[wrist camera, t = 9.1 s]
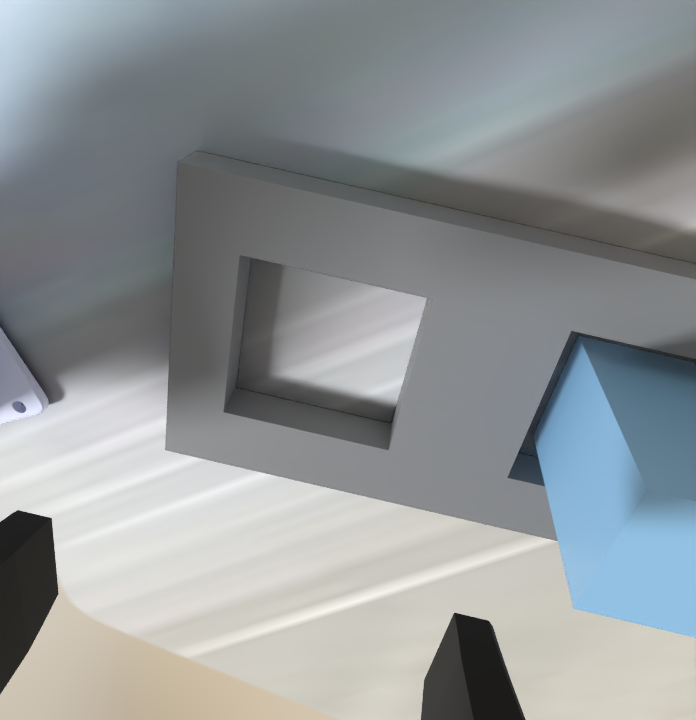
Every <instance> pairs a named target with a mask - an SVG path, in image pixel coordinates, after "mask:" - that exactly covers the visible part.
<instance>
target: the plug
mask: <svg viewBox="0 0 696 720" xmlns="http://www.w3.org/2000/svg"><path fill="white" fill-rule="evenodd" d="M533 436H534V441H535V445H536V449H537V453H538V458H539V462H540V466H541V471H542V475H543V479H544V484H545V488H546V492H547V496H548V501H549V505H550V509H551V514H552V518H553V522H554V526H555V531H556V535H557V539H558V544H559V548H560V552H561V556H562V561H563V565H564V569H565V574H566V578H567V582H568V586H569V591H570V595H571V599H572V604H573V608H574V609H578V610H582V611H586V612H590V613H594V614H599V615H603V616H607V617H611V618H615V619H620V620H624V621H628V622H632V623H636V624H641V625H645V626H649V627H653V628H657V629H661V630H666V631H670V632H674V633H678V634H682V635H687V636H691V637H695V638H696V363H693V362H689V361H684V360H680V359H676V358H672V357H667V356H663V355H659V354H655V353H650V352H646V351H642V350H638V349H633V348H629V347H625V346H621V345H616V344H612V343H608V342H604V341H599V340H595V339H591V338H587V337H583V336H578V338H577V340H576V343H575V345H574V347H573V349H572V351H571V354H570V356H569V358H568V360H567V362H566V365H565V367H564V369H563V371H562V373H561V376H560V378H559V380H558V382H557V384H556V387H555V389H554V391H553V393H552V395H551V398H550V400H549V402H548V404H547V406H546V409H545V411H544V413H543V415H542V417H541V420H540V422H539V424H538V426H537V428H536V430H535V433H534V435H533Z"/></svg>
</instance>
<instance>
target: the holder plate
mask: <svg viewBox="0 0 696 720" xmlns="http://www.w3.org/2000/svg"><path fill="white" fill-rule="evenodd" d="M251 258H255V259H259V260H264V261H268V262H272V263H277V264H281V265H286V266H290V267H294V268H299V269H303V270H307V271H312V272H316V273H321V274H325V275H329V276H334V277H338V278H342V279H347V280H351V281H356V282H360V283H364V284H369V285H373V286H378V287H382V288H386V289H391V290H395V291H399V292H404V293H408V294H413V295H417V296H421V297H426V298H427V301H426V305H425V308H424V312H423V315H422V319H421V322H420V325H419V329H418V332H417V336H416V339H415V343H414V346H413V350H412V353H411V357H410V360H409V364H408V367H407V371H406V374H405V378H404V381H403V385H402V388H401V392H400V395H399V399H398V402H397V406H396V409H395V413H394V416H393V420H392V423H391V424H390V423H386V422H382V421H377V420H373V419H369V418H364V417H360V416H356V415H351V414H347V413H343V412H338V411H334V410H330V409H325V408H321V407H317V406H312V405H308V404H304V403H299V402H295V401H291V400H286V399H282V398H278V397H273V396H269V395H265V394H260V393H256V392H252V391H247V390H243V389H239V388H236V385H237V377H238V368H239V359H240V350H241V342H242V333H243V324H244V315H245V306H246V298H247V289H248V280H249V271H250V263H251ZM571 331H575V332H579V333H583V334H588V335H592V336H596V337H601V338H605V339H610V340H614V341H618V342H623V343H627V344H631V345H636V346H640V347H645V348H649V349H653V350H658V351H662V352H666V353H671V354H675V355H680V356H684V357H688V358H693V359H696V264H694V263H690V262H685V261H681V260H676V259H672V258H668V257H663V256H659V255H654V254H650V253H645V252H641V251H637V250H632V249H628V248H623V247H619V246H615V245H610V244H606V243H601V242H597V241H593V240H588V239H584V238H579V237H575V236H571V235H566V234H562V233H557V232H553V231H549V230H544V229H540V228H535V227H531V226H526V225H522V224H518V223H513V222H509V221H504V220H500V219H496V218H491V217H487V216H482V215H478V214H474V213H469V212H465V211H460V210H456V209H452V208H447V207H443V206H438V205H434V204H430V203H425V202H421V201H416V200H412V199H407V198H403V197H399V196H394V195H390V194H385V193H381V192H377V191H372V190H368V189H363V188H359V187H355V186H350V185H346V184H341V183H337V182H333V181H328V180H324V179H319V178H315V177H310V176H306V175H302V174H297V173H293V172H288V171H284V170H280V169H275V168H271V167H266V166H262V165H258V164H253V163H249V162H244V161H240V160H236V159H231V158H227V157H222V156H218V155H214V154H209V153H205V152H200V151H196V152H194V153H192V154H191V155H189V156H187V157H185V158H184V159H182V160H180V161H179V162H178V169H177V192H176V215H175V238H174V261H173V285H172V308H171V331H170V354H169V378H168V401H167V424H166V447H165V450H167V451H172V452H176V453H180V454H185V455H189V456H193V457H197V458H202V459H206V460H210V461H215V462H219V463H223V464H228V465H232V466H236V467H241V468H245V469H249V470H254V471H258V472H262V473H266V474H271V475H275V476H279V477H284V478H288V479H292V480H297V481H301V482H305V483H310V484H314V485H318V486H323V487H327V488H331V489H335V490H340V491H344V492H348V493H353V494H357V495H361V496H366V497H370V498H374V499H379V500H383V501H387V502H392V503H396V504H400V505H404V506H409V507H413V508H417V509H422V510H426V511H430V512H435V513H439V514H443V515H448V516H452V517H456V518H461V519H465V520H469V521H473V522H478V523H482V524H486V525H491V526H495V527H499V528H504V529H508V530H512V531H517V532H521V533H525V534H530V535H534V536H538V537H542V538H547V539H551V540H555V541H558V539H557V535H556V531H555V526H554V522H553V518H552V514H551V509H550V505H549V501H548V496H547V492H546V488H545V484H544V479H543V475H542V471H541V466H540V462H539V458H538V457H534V456H529V455H525V454H521V453H518V452H519V450H520V447H521V445H522V443H523V441H524V438H525V436H526V434H527V431H528V429H529V427H530V425H531V422H532V420H533V418H534V415H535V413H536V411H537V409H538V406H539V404H540V402H541V399H542V397H543V395H544V392H545V390H546V388H547V386H548V383H549V381H550V379H551V376H552V374H553V372H554V370H555V367H556V365H557V363H558V360H559V358H560V356H561V354H562V351H563V349H564V347H565V344H566V342H567V340H568V338H569V335H570V333H571Z"/></svg>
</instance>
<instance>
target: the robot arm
mask: <svg viewBox="0 0 696 720" xmlns="http://www.w3.org/2000/svg"><path fill="white" fill-rule="evenodd" d="M20 402H22V403H23V404H24V405H25V406H23V405H22V404H21V403H20ZM47 406H48V398H47V396H46V395H45V393H44V392H43V390H42V389H41V387H40V386H39V384H38V383H37V381H36V380H35V378H34V377H33V375H32V374H31V372H30V371H29V369H28V368H27V366H26V365H25V363H24V362H23V360H22V359H21V357H20V356H19V354H18V353H17V351H16V350H15V348H14V347H13V345H12V344H11V342H10V341H9V339H8V338H7V336H6V335H5V333H4V332H3V330H2V329H1V327H0V424H2V423H6V422H10V421H14V420H18V419H22V418H26V417H30V416H34V415H38V414H40V413H42V412H43V411H44V410H45V409H46V408H47ZM57 595H58V584H57V573H56V562H55V551H54V540H53V529H52V518H48V517H44V516H40V515H36V514H31V513H27V512H23V511H19V510H18V511H16V512H14V513H12V514H11V515H9V516H8V517H7V518H5V519H4V520H2V521H1V522H0V694H1V692H2V691H3V689H4V687H5V686H6V685H7V683H8V682H9V680H10V679H11V677H12V675H13V674H14V673H15V671H16V670H17V668H18V667H19V665H20V664H21V662H22V660H23V659H24V657H25V656H26V654H27V653H28V651H29V649H30V647H31V646H32V644H33V642H34V640H35V638H36V636H37V634H38V632H39V631H40V629H41V627H42V625H43V623H44V621H45V619H46V617H47V615H48V613H49V611H50V609H51V607H52V605H53V603H54V601H55V599H56V597H57ZM421 720H525V717H524V715H523V712H522V709H521V707H520V704H519V701H518V699H517V696H516V693H515V691H514V688H513V685H512V682H511V680H510V677H509V674H508V671H507V668H506V665H505V663H504V660H503V657H502V654H501V651H500V648H499V645H498V642H497V639H496V635H495V632H494V629H493V626H492V625H491V623H490V622H489V621H487V620H483V619H479V618H475V617H470V616H466V615H462V614H458V613H454V614H453V617H452V619H451V621H450V623H449V626H448V628H447V630H446V632H445V635H444V637H443V639H442V641H441V644H440V646H439V648H438V650H437V653H436V655H435V657H434V659H433V662H432V664H431V666H430V668H429V671H428V673H427V675H426V677H425V680H424V690H423V702H422V714H421Z"/></svg>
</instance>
